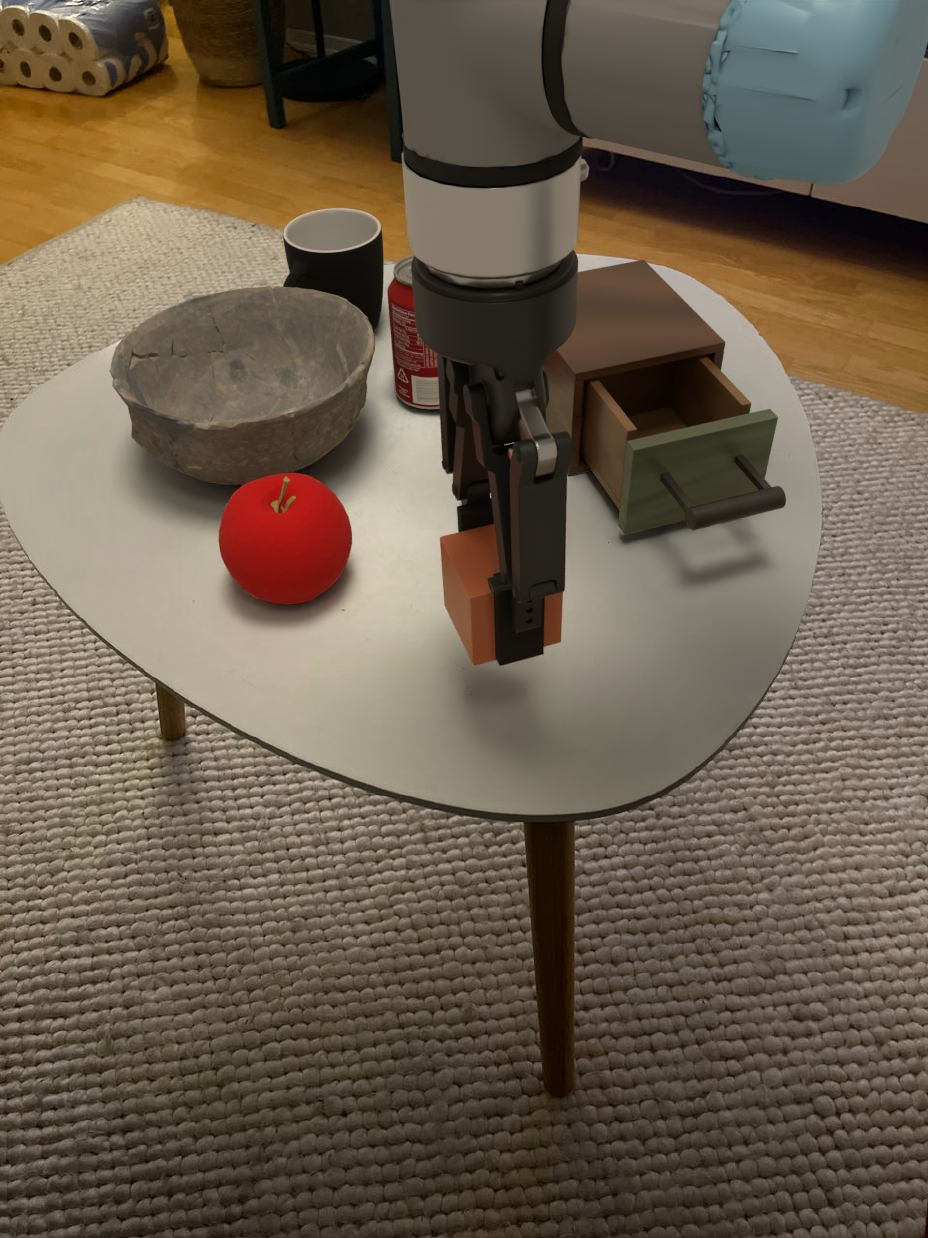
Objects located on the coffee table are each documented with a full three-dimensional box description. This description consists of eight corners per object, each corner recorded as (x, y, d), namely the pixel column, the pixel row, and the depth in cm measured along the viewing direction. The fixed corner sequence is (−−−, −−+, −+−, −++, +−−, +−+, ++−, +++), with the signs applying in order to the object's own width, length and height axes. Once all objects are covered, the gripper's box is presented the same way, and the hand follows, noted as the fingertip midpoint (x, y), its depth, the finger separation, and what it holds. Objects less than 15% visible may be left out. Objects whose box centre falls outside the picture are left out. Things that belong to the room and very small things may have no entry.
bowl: (329, 360, 100) (316, 259, 93) (427, 478, 87) (420, 371, 80) (110, 424, 93) (78, 321, 86) (180, 562, 80) (149, 453, 73)
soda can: (463, 418, 92) (460, 290, 84) (388, 412, 93) (376, 285, 85) (477, 376, 97) (475, 251, 89) (405, 370, 98) (396, 246, 90)
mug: (338, 297, 108) (326, 199, 101) (408, 322, 104) (401, 221, 97) (256, 350, 101) (238, 248, 94) (328, 378, 97) (314, 275, 90)
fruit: (257, 644, 74) (231, 534, 67) (213, 568, 80) (185, 459, 72) (377, 597, 77) (365, 487, 70) (327, 527, 83) (310, 419, 75)
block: (561, 642, 63) (564, 573, 59) (473, 667, 61) (470, 597, 58) (528, 583, 66) (528, 514, 62) (444, 605, 65) (439, 536, 61)
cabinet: (708, 444, 89) (725, 341, 82) (569, 476, 86) (574, 373, 80) (634, 356, 99) (643, 258, 92) (506, 383, 96) (507, 284, 89)
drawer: (800, 548, 78) (822, 462, 73) (658, 585, 76) (671, 499, 70) (679, 408, 91) (691, 326, 86) (556, 436, 89) (559, 353, 83)
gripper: (663, 331, 42) (623, 714, 58) (502, 160, 55) (506, 514, 71) (483, 370, 40) (494, 752, 57) (360, 185, 53) (398, 541, 69)
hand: (501, 620), depth 64 cm, fingers closed on block, 5 cm apart
